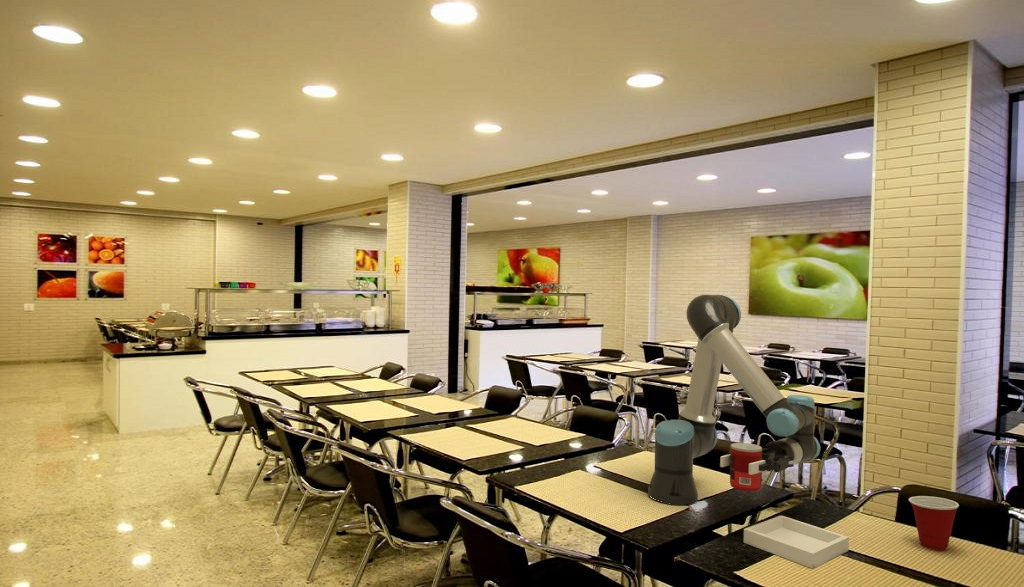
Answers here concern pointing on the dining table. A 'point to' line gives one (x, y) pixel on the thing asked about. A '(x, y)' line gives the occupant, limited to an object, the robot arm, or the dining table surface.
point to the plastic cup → (934, 520)
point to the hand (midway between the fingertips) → (735, 465)
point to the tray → (796, 541)
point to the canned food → (744, 466)
